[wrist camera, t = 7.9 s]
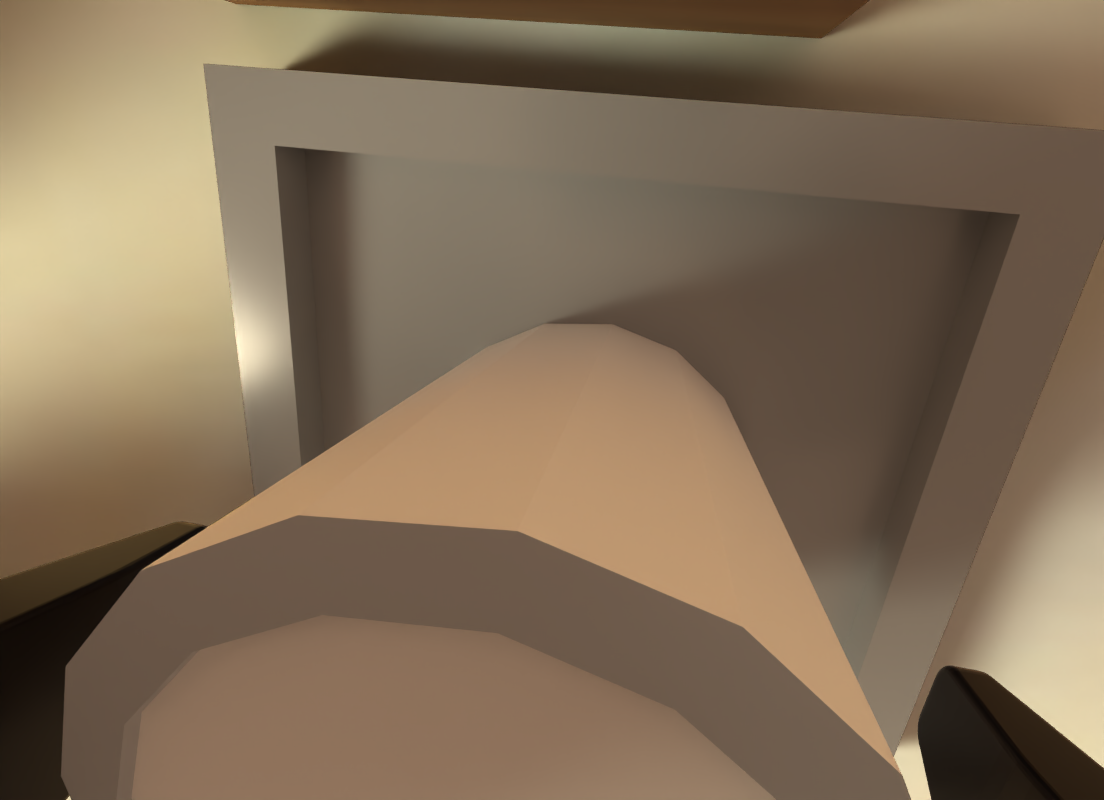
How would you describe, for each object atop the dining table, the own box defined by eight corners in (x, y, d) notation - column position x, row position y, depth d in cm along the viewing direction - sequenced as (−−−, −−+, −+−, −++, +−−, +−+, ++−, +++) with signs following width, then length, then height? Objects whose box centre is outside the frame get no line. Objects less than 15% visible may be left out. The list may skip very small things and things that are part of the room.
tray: (844, 751, 13) (865, 826, 12) (316, 640, 15) (277, 693, 13) (1066, 136, 9) (1146, 132, 7) (270, 76, 10) (203, 63, 9)
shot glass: (411, 244, 10) (-47, 406, 4) (846, 330, 9) (1207, 715, 3) (387, 582, 13) (99, 1013, 6) (725, 670, 12) (778, 1256, 6)
